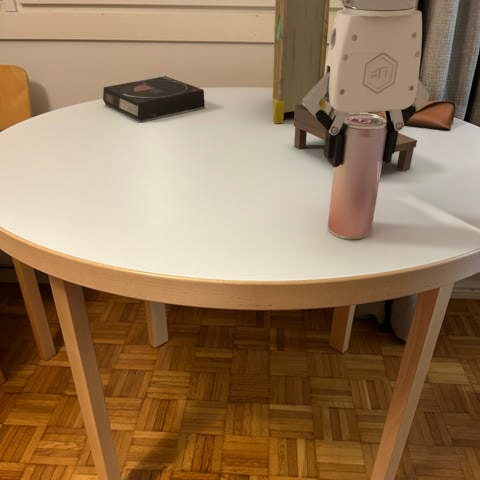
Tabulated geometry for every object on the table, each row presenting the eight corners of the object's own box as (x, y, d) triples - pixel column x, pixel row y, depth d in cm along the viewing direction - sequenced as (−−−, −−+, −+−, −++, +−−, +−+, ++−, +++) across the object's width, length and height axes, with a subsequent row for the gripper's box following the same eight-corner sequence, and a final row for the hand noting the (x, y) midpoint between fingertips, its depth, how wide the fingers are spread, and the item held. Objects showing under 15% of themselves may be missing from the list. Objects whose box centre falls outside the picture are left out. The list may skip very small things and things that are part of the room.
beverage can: (333, 218, 76) (344, 110, 67) (374, 224, 74) (392, 115, 65) (322, 236, 72) (333, 124, 63) (366, 244, 70) (384, 129, 61)
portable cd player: (103, 105, 123) (101, 87, 120) (167, 93, 131) (165, 76, 128) (138, 123, 112) (135, 103, 110) (204, 108, 120) (203, 89, 118)
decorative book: (271, 98, 126) (275, -56, 108) (317, 99, 126) (329, -56, 107) (272, 125, 110) (277, -50, 92) (325, 125, 110) (341, -51, 92)
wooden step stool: (338, 136, 104) (342, 97, 100) (411, 169, 91) (420, 125, 86) (292, 146, 100) (294, 105, 96) (362, 182, 86) (368, 136, 82)
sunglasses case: (362, 120, 111) (368, 87, 110) (364, 128, 118) (371, 97, 117) (452, 129, 106) (459, 94, 105) (449, 137, 112) (456, 105, 112)
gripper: (311, 3, 52) (300, 177, 63) (473, -2, 54) (435, 167, 65) (292, -6, 58) (285, 155, 69) (439, -10, 60) (409, 147, 71)
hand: (358, 160), depth 67 cm, fingers closed on beverage can, 6 cm apart
